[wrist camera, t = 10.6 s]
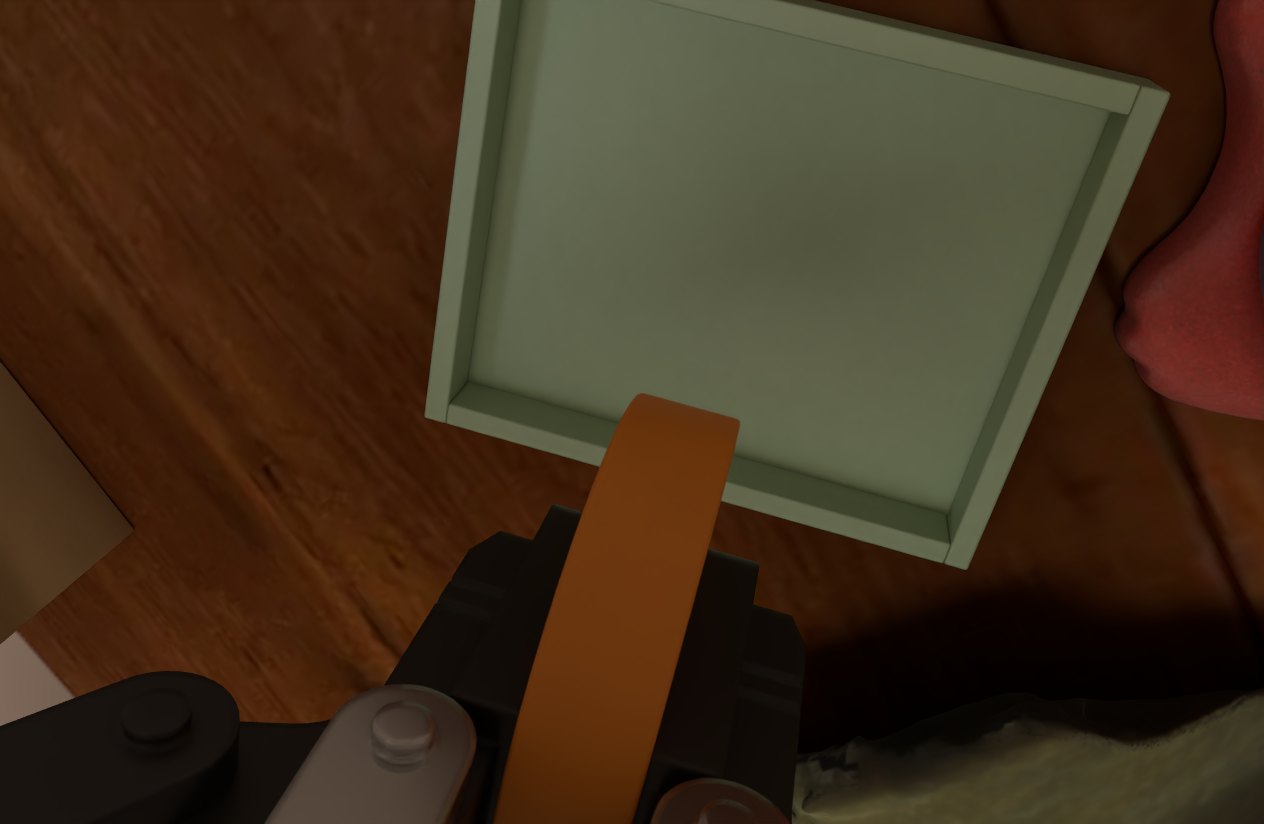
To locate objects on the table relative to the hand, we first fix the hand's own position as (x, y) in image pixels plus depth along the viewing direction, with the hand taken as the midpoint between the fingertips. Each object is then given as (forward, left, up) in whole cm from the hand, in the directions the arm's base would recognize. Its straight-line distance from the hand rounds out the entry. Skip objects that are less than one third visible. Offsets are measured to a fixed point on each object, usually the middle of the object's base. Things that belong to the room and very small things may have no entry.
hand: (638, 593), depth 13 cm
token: (0, 0, +1) cm, 1 cm away
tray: (0, 0, -14) cm, 14 cm away
